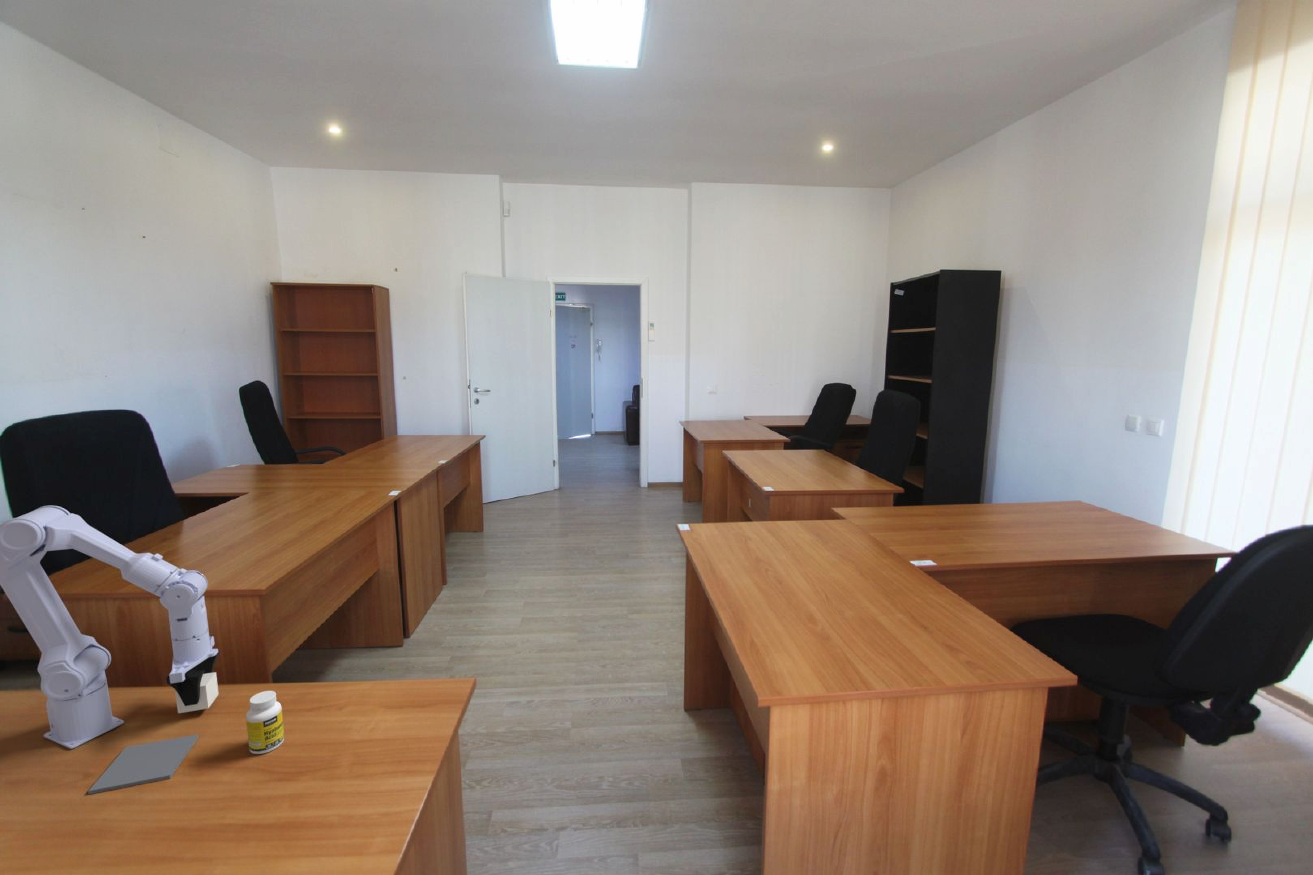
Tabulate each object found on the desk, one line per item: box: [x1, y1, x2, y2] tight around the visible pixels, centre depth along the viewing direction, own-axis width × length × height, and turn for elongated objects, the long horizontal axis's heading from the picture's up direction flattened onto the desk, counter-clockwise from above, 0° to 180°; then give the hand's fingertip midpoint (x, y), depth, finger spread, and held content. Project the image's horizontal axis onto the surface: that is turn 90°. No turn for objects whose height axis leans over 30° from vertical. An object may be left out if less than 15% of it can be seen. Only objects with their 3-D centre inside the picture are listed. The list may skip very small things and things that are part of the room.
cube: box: [174, 671, 219, 714], centre depth 113 cm, size 5×5×5 cm
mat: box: [87, 734, 200, 795], centre depth 99 cm, size 11×11×1 cm
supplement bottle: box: [245, 690, 285, 755], centre depth 103 cm, size 5×5×10 cm
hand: (197, 695), depth 113 cm, fingers closed on cube, 5 cm apart
